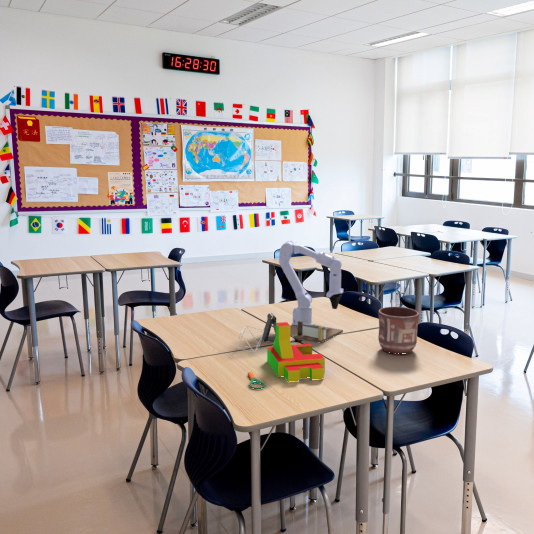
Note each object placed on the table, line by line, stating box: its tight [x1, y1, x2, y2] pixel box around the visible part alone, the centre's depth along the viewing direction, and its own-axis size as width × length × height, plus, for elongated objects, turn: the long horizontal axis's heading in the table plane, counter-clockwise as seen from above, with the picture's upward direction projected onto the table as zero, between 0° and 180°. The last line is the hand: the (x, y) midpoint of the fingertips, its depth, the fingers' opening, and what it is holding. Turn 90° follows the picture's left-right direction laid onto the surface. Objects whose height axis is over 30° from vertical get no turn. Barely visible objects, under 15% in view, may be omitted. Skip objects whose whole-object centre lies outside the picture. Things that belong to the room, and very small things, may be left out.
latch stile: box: [318, 325, 323, 341], centre depth 264 cm, size 2×1×6 cm
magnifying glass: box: [247, 371, 266, 390], centre depth 216 cm, size 15×6×2 cm, turn 15°
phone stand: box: [260, 312, 277, 343], centre depth 268 cm, size 9×6×12 cm, turn 103°
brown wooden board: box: [292, 321, 344, 344], centre depth 275 cm, size 15×22×8 cm
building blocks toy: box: [266, 321, 326, 383], centre depth 227 cm, size 19×25×18 cm
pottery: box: [377, 306, 420, 354], centre depth 251 cm, size 18×18×18 cm
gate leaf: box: [302, 323, 327, 339], centre depth 268 cm, size 12×2×5 cm, turn 55°
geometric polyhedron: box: [236, 325, 264, 354], centre depth 254 cm, size 12×11×9 cm
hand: (334, 308), depth 288 cm, fingers closed
